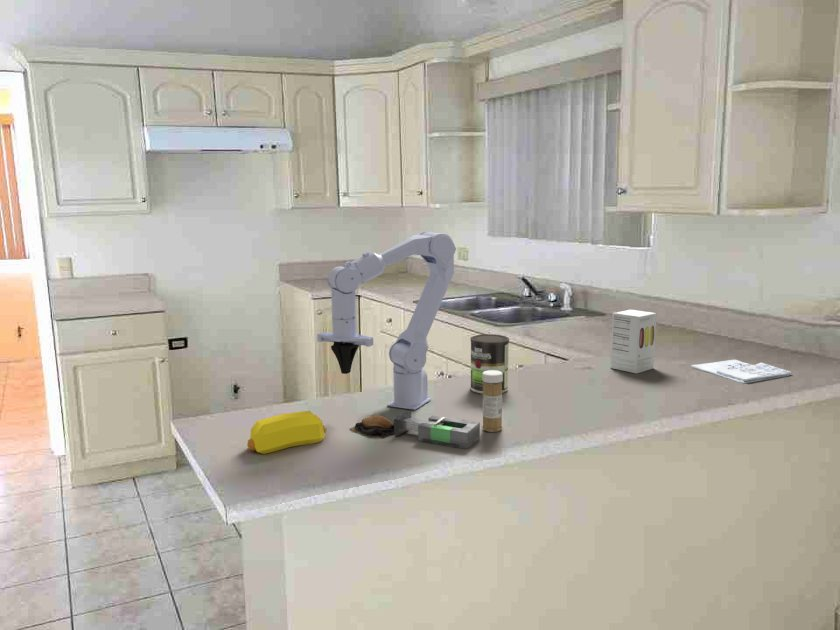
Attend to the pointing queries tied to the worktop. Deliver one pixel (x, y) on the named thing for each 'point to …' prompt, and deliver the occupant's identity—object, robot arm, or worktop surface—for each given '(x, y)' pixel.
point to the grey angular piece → (410, 423)
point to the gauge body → (450, 432)
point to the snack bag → (742, 371)
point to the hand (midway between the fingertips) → (346, 372)
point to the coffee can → (488, 359)
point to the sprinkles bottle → (492, 400)
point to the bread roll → (374, 427)
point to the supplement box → (633, 341)
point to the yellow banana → (286, 432)
